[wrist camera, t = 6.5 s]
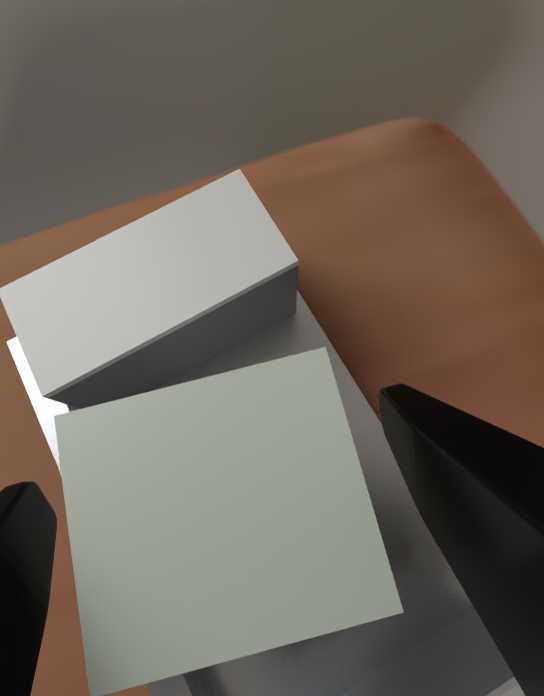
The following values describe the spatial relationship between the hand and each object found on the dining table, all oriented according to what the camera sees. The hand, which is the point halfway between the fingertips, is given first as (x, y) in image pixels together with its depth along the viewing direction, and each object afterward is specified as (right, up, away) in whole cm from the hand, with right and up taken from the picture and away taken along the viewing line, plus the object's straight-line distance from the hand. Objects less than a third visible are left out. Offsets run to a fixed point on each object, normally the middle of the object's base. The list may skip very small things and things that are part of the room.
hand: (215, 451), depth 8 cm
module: (-2, +3, +9) cm, 10 cm away
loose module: (0, -3, +8) cm, 8 cm away
